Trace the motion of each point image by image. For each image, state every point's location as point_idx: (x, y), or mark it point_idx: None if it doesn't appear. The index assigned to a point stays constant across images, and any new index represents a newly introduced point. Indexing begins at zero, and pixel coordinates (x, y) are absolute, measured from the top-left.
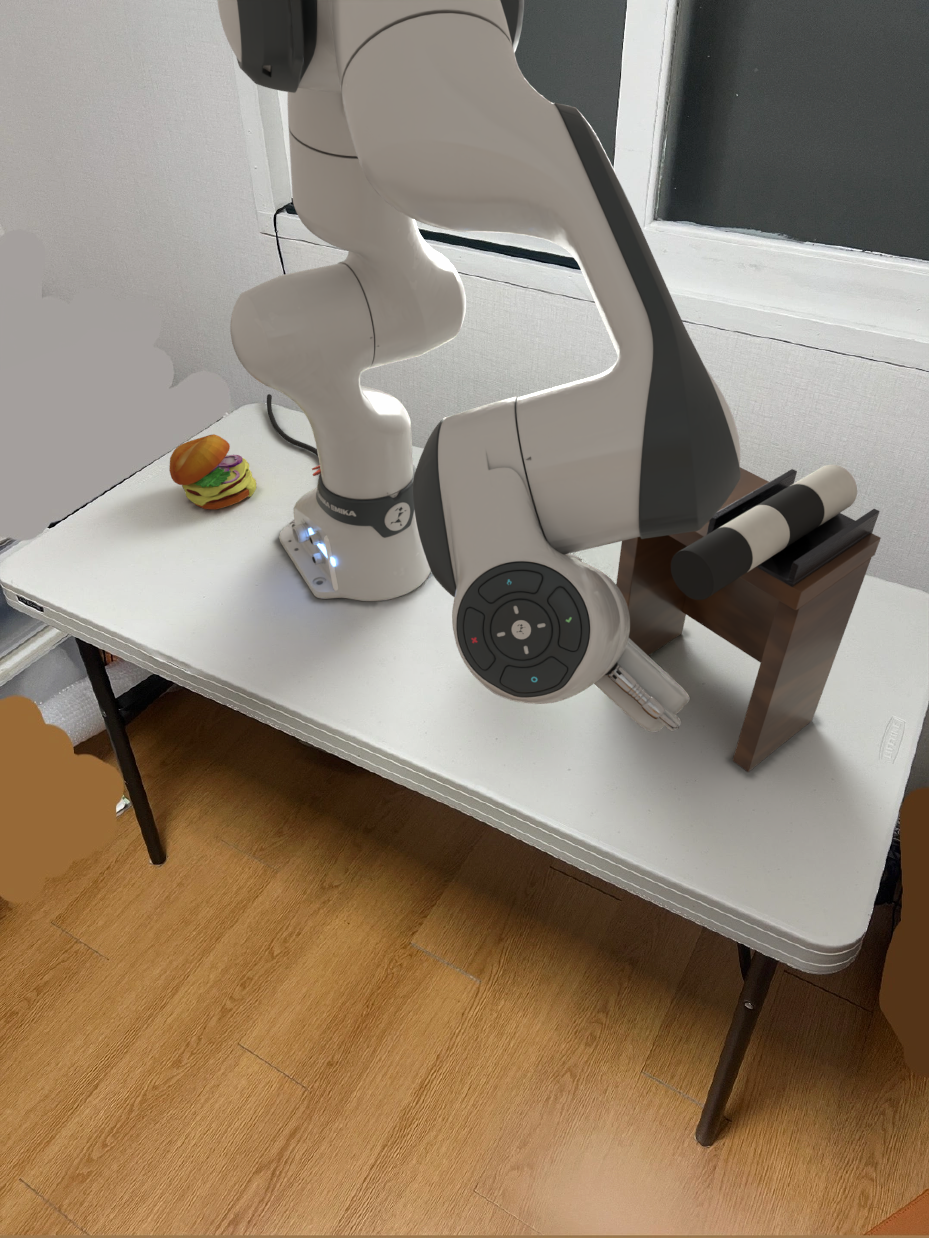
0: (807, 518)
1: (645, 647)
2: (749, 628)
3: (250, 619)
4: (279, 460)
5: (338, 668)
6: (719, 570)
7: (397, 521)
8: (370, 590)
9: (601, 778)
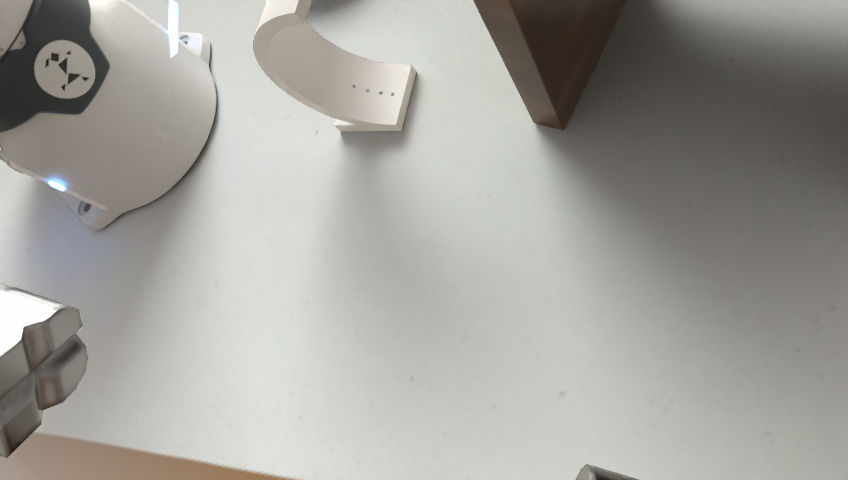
0: None
1: (588, 50)
2: None
3: None
4: None
5: (151, 345)
6: None
7: (72, 78)
8: (143, 186)
9: (632, 389)
